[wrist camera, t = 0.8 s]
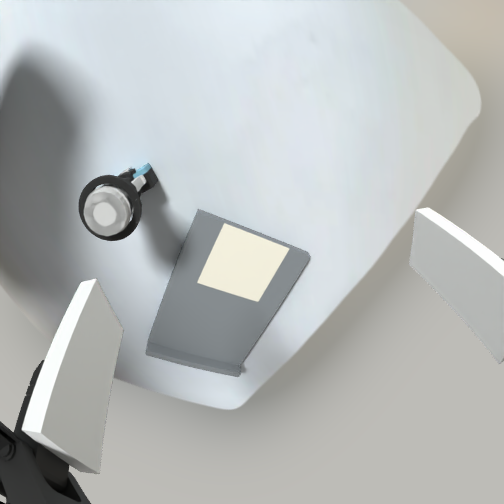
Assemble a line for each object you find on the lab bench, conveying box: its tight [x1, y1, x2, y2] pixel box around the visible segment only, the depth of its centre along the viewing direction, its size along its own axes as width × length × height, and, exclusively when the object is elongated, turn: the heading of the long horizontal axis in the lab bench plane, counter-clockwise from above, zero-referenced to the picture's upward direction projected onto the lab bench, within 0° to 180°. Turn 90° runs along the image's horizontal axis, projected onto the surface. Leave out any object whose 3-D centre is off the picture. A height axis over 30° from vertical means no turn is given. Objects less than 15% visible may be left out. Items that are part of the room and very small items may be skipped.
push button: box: [79, 163, 158, 241], centre depth 24 cm, size 7×5×10 cm
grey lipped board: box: [146, 209, 310, 377], centre depth 36 cm, size 14×21×3 cm, turn 154°
